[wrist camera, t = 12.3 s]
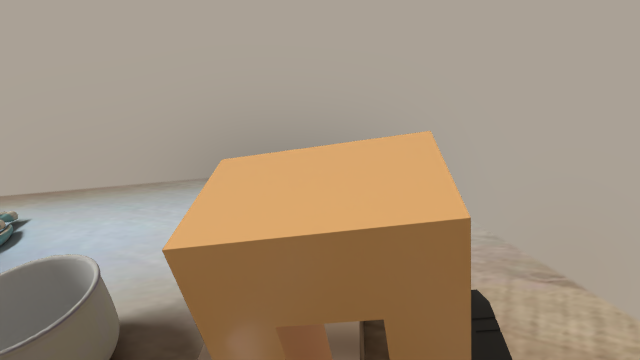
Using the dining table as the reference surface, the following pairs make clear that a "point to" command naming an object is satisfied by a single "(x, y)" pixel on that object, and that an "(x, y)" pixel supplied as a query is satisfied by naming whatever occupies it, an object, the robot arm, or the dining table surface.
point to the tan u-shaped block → (328, 251)
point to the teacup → (56, 311)
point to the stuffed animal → (5, 217)
